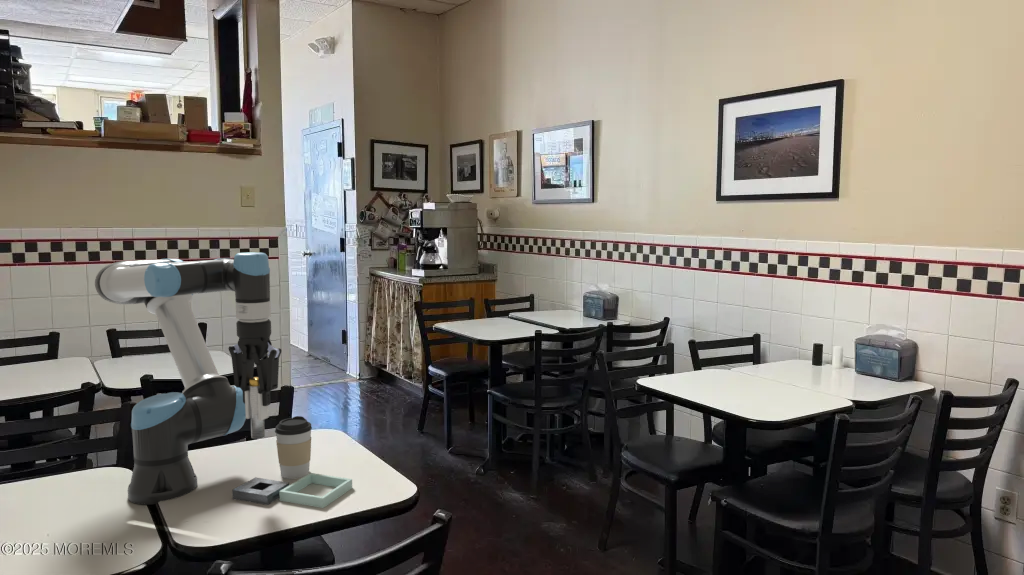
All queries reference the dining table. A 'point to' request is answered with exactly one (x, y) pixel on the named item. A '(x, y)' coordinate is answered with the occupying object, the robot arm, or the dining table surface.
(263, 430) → the pin
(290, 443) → the coffee cup
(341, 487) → the tray
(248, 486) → the block
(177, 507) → the dining table surface
